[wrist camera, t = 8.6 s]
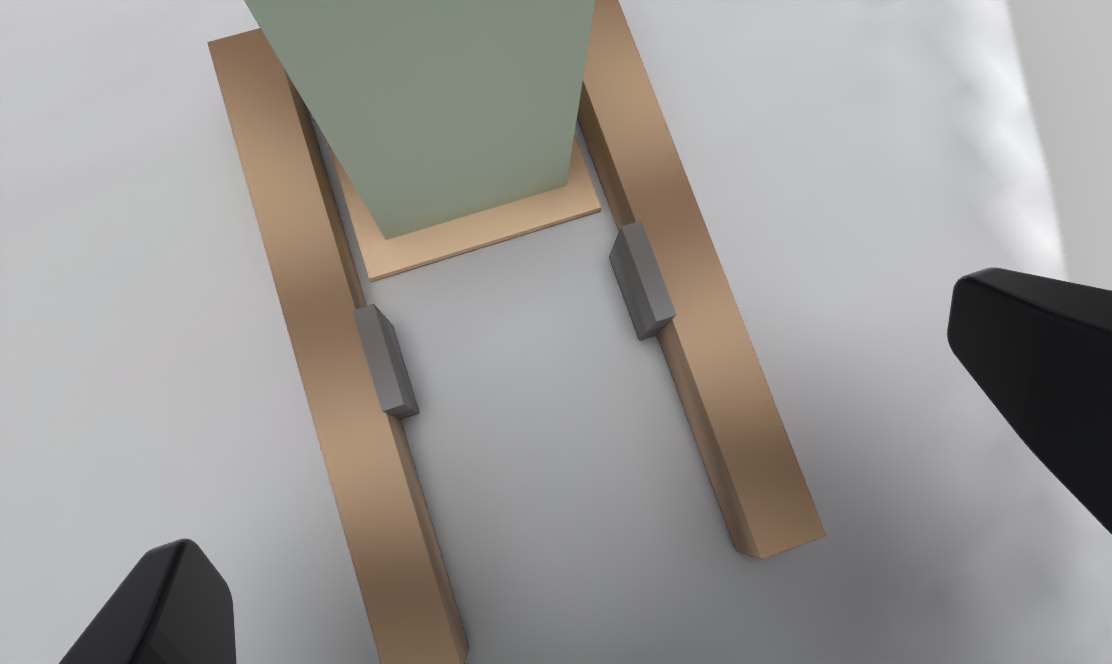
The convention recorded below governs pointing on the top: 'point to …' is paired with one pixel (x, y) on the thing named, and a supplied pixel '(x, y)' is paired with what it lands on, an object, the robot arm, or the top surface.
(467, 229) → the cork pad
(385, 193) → the sage block
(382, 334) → the wooden leg stand
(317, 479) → the top surface
